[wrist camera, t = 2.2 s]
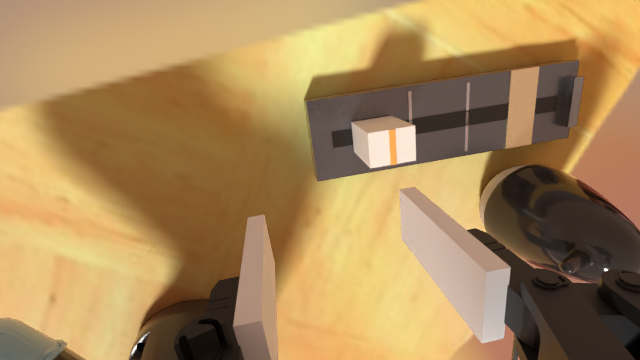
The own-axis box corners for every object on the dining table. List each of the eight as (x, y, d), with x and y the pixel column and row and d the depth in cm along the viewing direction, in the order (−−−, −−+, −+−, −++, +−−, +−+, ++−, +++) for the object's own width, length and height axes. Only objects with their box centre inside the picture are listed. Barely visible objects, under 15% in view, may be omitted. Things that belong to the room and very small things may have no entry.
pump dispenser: (468, 158, 37) (595, 216, 22) (550, 152, 38) (718, 203, 24) (458, 236, 40) (562, 330, 26) (533, 228, 41) (671, 313, 27)
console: (314, 175, 34) (319, 184, 32) (303, 99, 32) (307, 102, 29) (553, 133, 37) (576, 139, 34) (562, 60, 34) (588, 60, 32)
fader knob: (354, 151, 32) (370, 168, 27) (351, 122, 31) (368, 133, 26) (392, 145, 32) (416, 160, 27) (391, 115, 31) (415, 125, 26)
